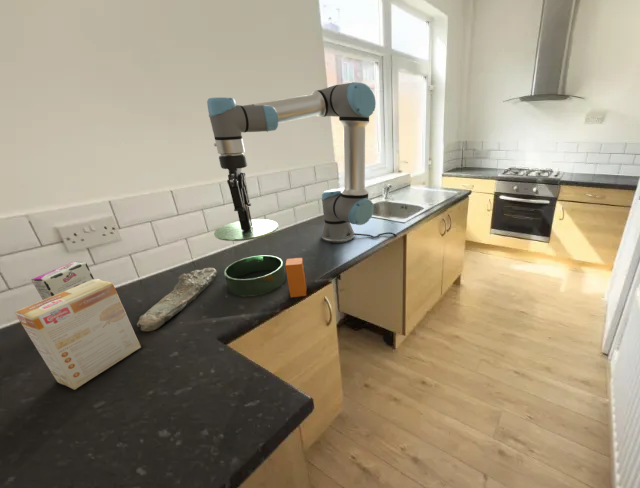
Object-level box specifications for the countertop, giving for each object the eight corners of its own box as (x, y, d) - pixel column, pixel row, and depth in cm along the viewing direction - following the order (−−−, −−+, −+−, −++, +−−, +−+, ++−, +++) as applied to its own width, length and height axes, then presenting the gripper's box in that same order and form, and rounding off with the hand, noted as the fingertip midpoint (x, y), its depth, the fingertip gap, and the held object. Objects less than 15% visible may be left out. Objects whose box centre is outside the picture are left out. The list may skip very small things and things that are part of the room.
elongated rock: (129, 336, 89) (164, 338, 89) (122, 321, 87) (158, 323, 86) (198, 272, 120) (224, 273, 120) (195, 260, 118) (221, 261, 117)
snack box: (306, 289, 108) (302, 257, 103) (306, 296, 104) (301, 263, 99) (291, 290, 107) (286, 258, 102) (290, 298, 103) (285, 265, 98)
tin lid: (281, 220, 117) (277, 195, 113) (275, 239, 99) (270, 211, 96) (224, 224, 114) (218, 199, 110) (206, 245, 96) (198, 216, 92)
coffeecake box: (124, 341, 85) (95, 277, 77) (142, 347, 83) (114, 282, 75) (55, 382, 72) (11, 311, 64) (74, 391, 70) (31, 317, 62)
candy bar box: (96, 307, 101) (73, 260, 94) (109, 308, 100) (87, 261, 93) (57, 329, 91) (29, 278, 84) (71, 330, 90) (44, 280, 83)
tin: (287, 268, 123) (284, 253, 120) (282, 293, 106) (279, 276, 103) (235, 273, 120) (231, 258, 117) (222, 300, 103) (217, 282, 100)
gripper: (225, 152, 103) (240, 221, 113) (210, 158, 89) (229, 236, 98) (249, 151, 104) (262, 219, 114) (239, 156, 90) (254, 234, 100)
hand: (247, 227), depth 106 cm, fingers closed on tin lid, 3 cm apart
